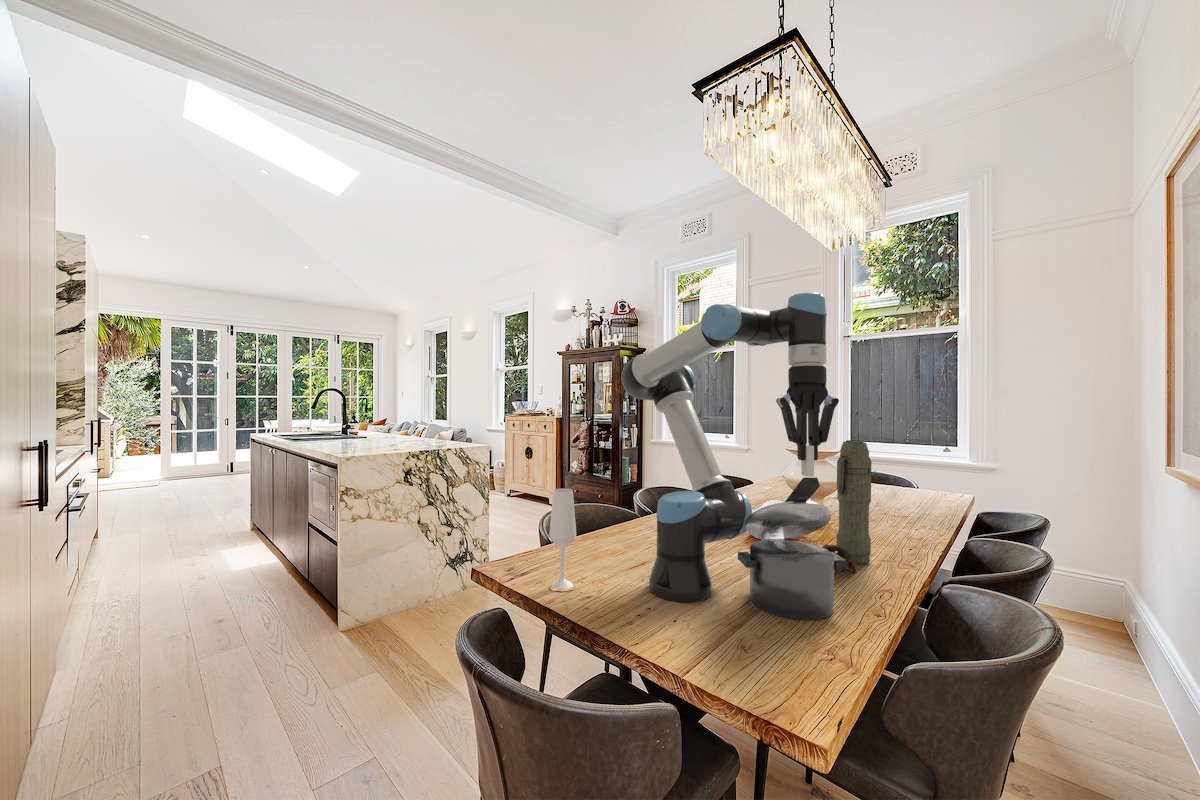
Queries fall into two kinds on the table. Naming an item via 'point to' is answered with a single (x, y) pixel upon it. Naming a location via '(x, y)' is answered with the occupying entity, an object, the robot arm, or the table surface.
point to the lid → (790, 515)
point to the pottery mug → (844, 554)
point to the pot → (792, 578)
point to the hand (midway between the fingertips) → (807, 475)
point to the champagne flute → (562, 529)
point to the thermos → (854, 500)
